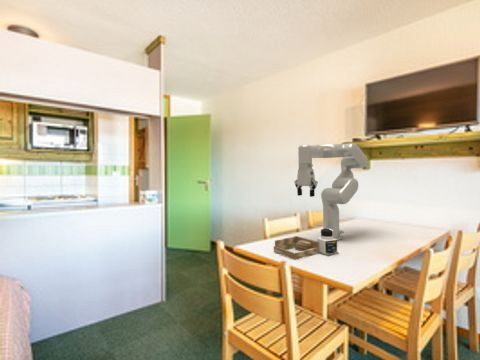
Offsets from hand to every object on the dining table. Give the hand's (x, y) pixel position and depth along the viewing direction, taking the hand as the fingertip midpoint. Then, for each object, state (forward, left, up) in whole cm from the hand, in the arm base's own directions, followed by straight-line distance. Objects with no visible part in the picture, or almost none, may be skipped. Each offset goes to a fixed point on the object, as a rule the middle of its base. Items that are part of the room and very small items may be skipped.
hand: (305, 195), depth 155 cm
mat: (+4, +18, -28) cm, 34 cm away
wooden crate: (+16, +8, -28) cm, 34 cm away
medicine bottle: (+4, +18, -28) cm, 34 cm away
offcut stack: (+11, +8, -28) cm, 31 cm away
